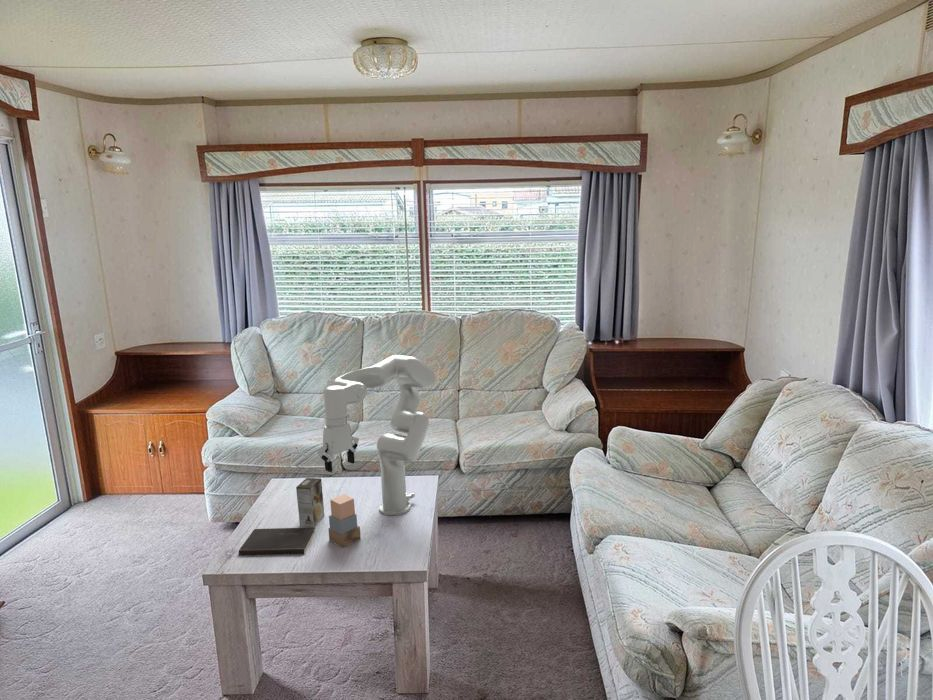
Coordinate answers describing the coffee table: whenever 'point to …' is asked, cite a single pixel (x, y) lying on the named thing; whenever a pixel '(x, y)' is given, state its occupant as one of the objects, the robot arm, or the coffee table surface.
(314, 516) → the coffee box
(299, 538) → the hardcover book
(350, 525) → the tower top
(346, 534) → the tower bottom
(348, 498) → the terracotta cube
